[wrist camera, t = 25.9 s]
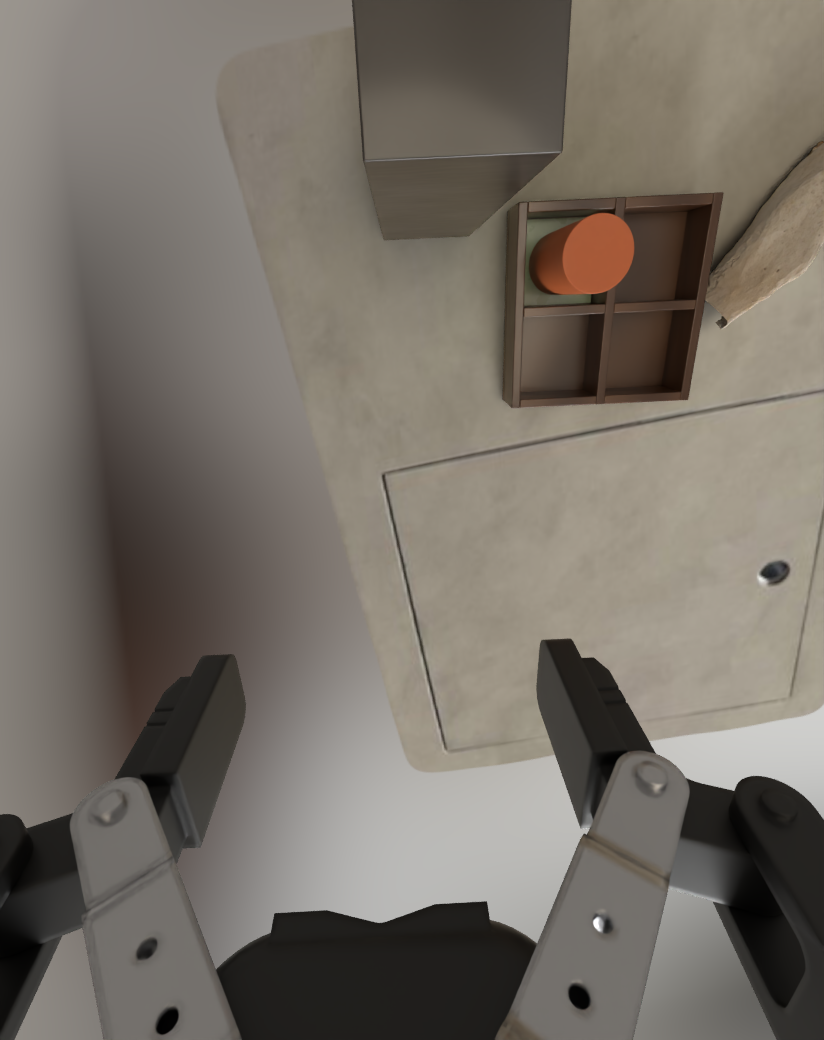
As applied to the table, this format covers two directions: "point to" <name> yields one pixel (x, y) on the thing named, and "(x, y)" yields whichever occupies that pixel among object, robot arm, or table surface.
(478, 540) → the table surface
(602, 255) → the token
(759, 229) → the bone fragment
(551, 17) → the stand
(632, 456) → the table surface
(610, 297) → the grid
